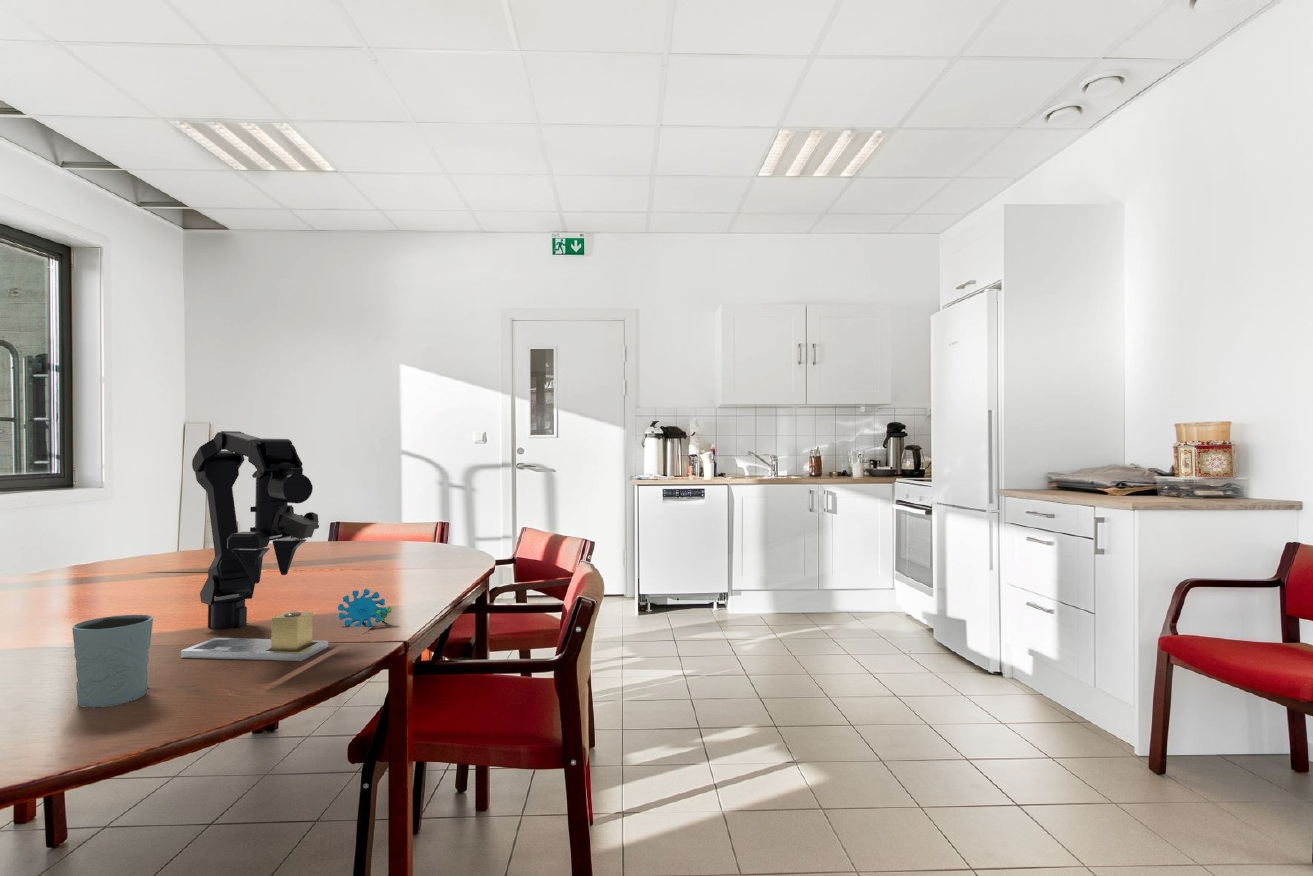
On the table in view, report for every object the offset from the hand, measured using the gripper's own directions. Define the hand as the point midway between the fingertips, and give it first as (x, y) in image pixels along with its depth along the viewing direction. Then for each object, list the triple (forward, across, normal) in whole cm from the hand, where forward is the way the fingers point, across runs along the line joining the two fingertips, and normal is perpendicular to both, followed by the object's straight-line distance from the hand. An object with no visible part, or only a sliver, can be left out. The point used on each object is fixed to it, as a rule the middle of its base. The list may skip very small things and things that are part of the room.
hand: (270, 579), depth 142 cm
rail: (+13, -8, -2) cm, 15 cm away
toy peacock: (+13, +16, -12) cm, 24 cm away
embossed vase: (+13, -31, +6) cm, 34 cm away
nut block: (+12, -8, -9) cm, 17 cm away
